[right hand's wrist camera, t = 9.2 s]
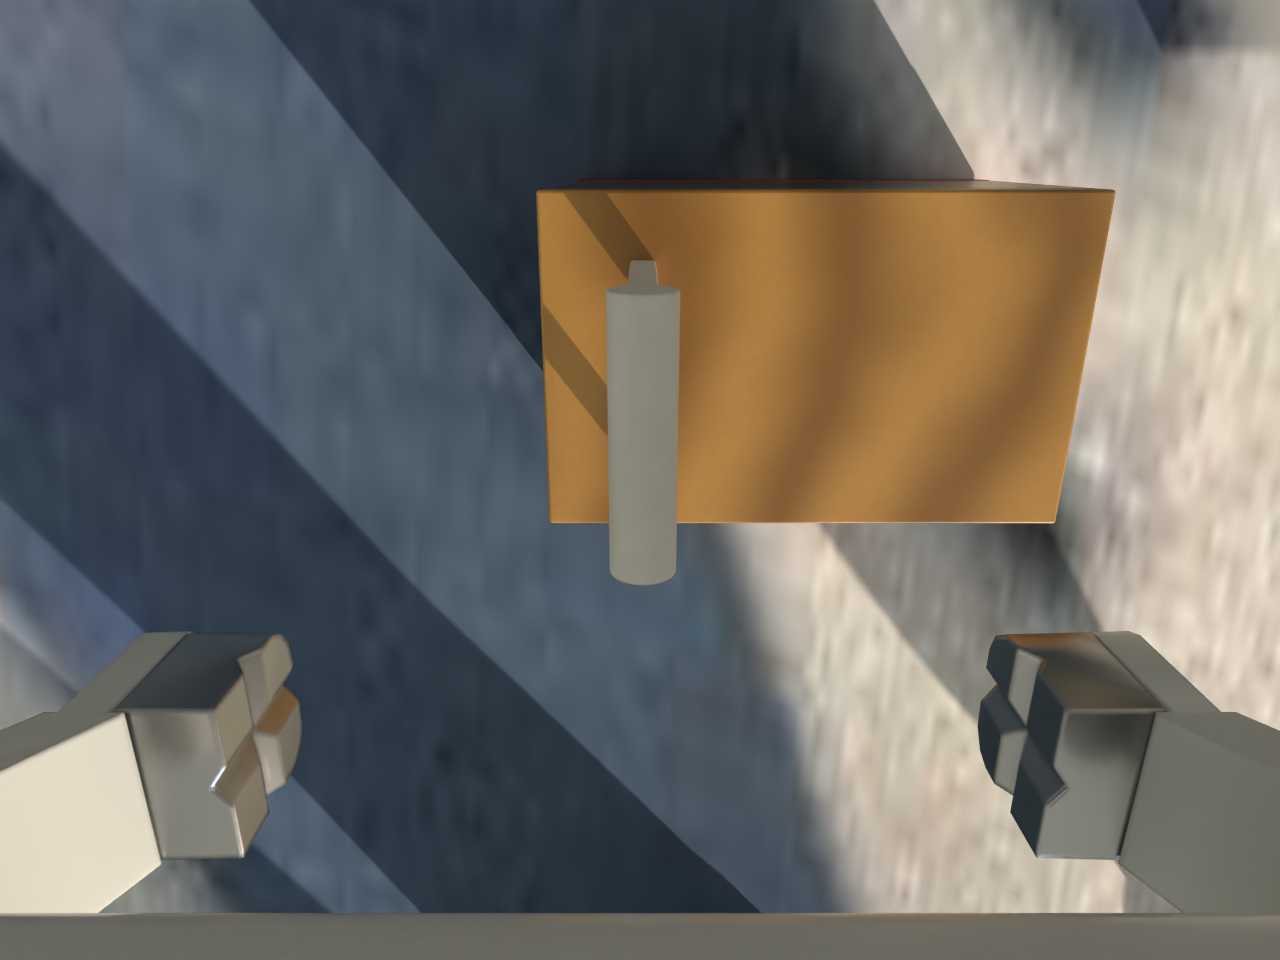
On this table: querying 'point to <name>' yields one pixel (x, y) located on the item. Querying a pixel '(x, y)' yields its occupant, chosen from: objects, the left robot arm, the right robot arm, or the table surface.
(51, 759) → the right robot arm
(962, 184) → the chest
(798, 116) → the table surface
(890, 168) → the table surface
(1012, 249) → the lid
